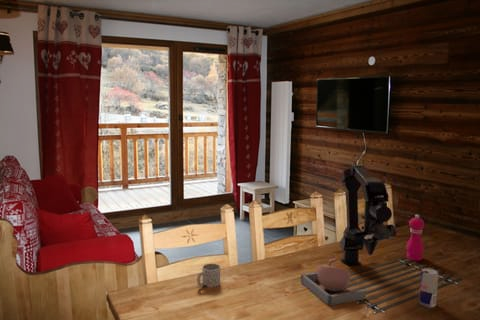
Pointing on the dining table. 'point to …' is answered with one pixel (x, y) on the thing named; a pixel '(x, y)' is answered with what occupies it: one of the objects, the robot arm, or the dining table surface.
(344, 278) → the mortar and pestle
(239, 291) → the dining table surface
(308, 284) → the grey frame
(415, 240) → the pepper mill
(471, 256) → the dining table surface
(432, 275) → the energy drink
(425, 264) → the dining table surface
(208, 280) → the mug
